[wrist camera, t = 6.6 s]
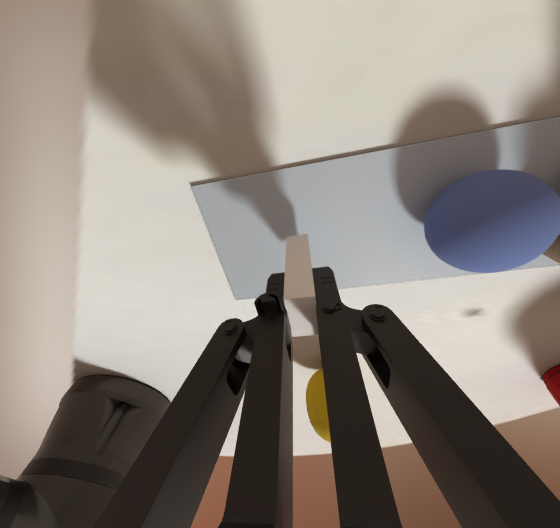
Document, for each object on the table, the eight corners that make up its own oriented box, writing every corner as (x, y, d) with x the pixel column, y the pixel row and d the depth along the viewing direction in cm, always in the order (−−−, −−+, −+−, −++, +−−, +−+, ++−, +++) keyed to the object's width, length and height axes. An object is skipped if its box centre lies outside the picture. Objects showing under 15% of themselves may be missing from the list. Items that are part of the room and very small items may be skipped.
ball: (513, 245, 16) (416, 251, 18) (533, 153, 13) (418, 174, 16) (576, 293, 11) (432, 292, 13) (627, 163, 9) (439, 191, 11)
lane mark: (236, 298, 22) (235, 300, 22) (191, 186, 16) (190, 186, 16) (581, 261, 18) (584, 262, 18) (693, 90, 12) (699, 90, 12)
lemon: (295, 367, 28) (296, 446, 21) (327, 346, 25) (339, 428, 19) (327, 383, 30) (336, 461, 23) (359, 365, 27) (381, 447, 21)
